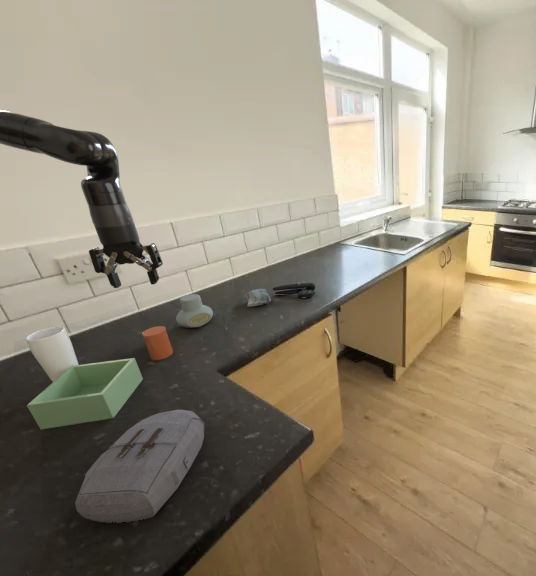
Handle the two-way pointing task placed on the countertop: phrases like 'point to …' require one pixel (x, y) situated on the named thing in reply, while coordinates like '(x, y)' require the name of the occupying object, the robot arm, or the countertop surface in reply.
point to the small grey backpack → (141, 468)
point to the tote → (86, 393)
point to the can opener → (297, 289)
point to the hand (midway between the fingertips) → (136, 285)
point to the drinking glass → (52, 350)
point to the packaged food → (257, 297)
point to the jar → (157, 342)
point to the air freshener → (193, 312)
